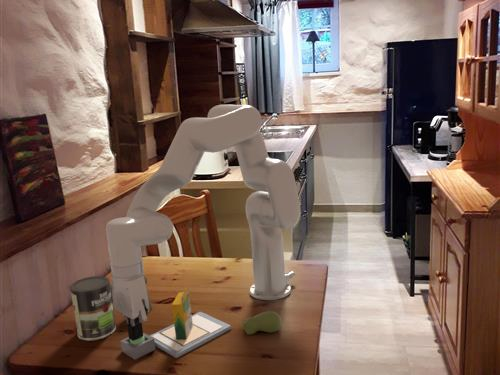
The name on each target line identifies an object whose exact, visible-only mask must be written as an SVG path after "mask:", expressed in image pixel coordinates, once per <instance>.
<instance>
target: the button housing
mask: <svg viewBox="0 0 500 375" xmlns="http://www.w3.org/2000/svg"><path fill="white" fill-rule="evenodd" d="M143 335H144V338H145V341H144V342H142V343H140V344H137V345H135V346H134V345H132V344H131V343H130V339H129V336H128V337H126V338H123V339H122V340H120V347H121V352H123V353H124V354H125V355H127V356H128V357H130V358H132V359H133V360H134V361H135V360H138V359H139V358H141V357H143V356H145V355H148V354H149V353H151V352H153V351H155V350H156V346H155V342H154V338H152V337H150V335H149V334H147V333H146V332H143Z"/></svg>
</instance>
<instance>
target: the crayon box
mask: <svg viewBox="0 0 500 375" xmlns="http://www.w3.org/2000/svg"><path fill="white" fill-rule="evenodd" d="M189 290H190V289H189V285H187V286H186V289H185V290H184V291H182V292H179V291H178V293H177V295H176V296H175V299H174V300H173V302H172V303H171V309H172V310H171V311H172V317H173V324H174V326H175V334H176V339H177V340H185V339H187V338H188V335H189V333H190V331H191V329H192V326H193V322H192V315H193V314H192V308H191V307H192V306H191V300H190V291H189Z"/></svg>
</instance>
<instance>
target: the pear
mask: <svg viewBox="0 0 500 375" xmlns="http://www.w3.org/2000/svg"><path fill="white" fill-rule="evenodd" d="M242 326H243V330H244V331H245V332H246V335H249V336H251V335H254V334H255V333H257V332H258V331H259V332H265V333H276V332H277V331H278V330H279V329H280V328H281V326H282V319H281V316H280V314H278V312H276V311H273V310H269V311H268V310H267V311H263V312H259V314H257V315H255V316H249V317H247V318H246V319H245V320H244V321H243V322H242Z"/></svg>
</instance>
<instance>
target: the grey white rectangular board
mask: <svg viewBox="0 0 500 375" xmlns="http://www.w3.org/2000/svg"><path fill="white" fill-rule="evenodd" d="M192 322H193V326H192V329H191V331H190V333H189V335H188V338H187V339H185V340H177V339H176V334H175V326H174V323H173V324H171V325H170V326H167V327H165V328H162V329H160V330H159V331H156V332H155V333H153V334H150V335H149V336H150V337H152V338H154V342H155V347H156V348H159V349H160V350H162V351H163V352H166V353H167V354H169V355H170V356H172V357H174V358H175V359H178V358H180V357H181V356H184V355H186V354H188V353H189V352H191V351H193V350H195V349H196V348H198V347H200V346H202V345H204V344H206V343H207V342H210V341H212V340H214V339H215V338H217V337H219V336H221V335H223V334H225V333H227V332H229V331H230V330H232V325H230V324H228V323H226V322H224V321H222V320H220V319H218V318H215V317H213V316H211V315H209V314H207V313H204V312H203V311H198V312H196V313H195V314H192Z"/></svg>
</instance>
